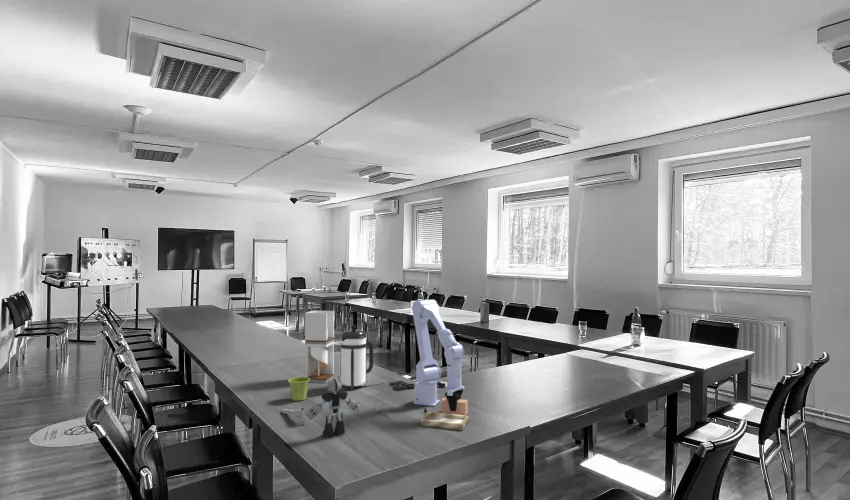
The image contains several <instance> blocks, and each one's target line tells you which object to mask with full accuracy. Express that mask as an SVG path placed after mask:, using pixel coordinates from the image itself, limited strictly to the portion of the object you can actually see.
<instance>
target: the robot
mask: <svg viewBox="0 0 850 500" xmlns="http://www.w3.org/2000/svg"><path fill="white" fill-rule="evenodd" d="M342 387H343V385H342V383H341V382H340V375H337V379H335V378H333V379H331V380H330V381H329V378H328V382H327V385H326V388H327V389H326V390H328V392H326V393H323V394H322V395H321V399H322V400H323V401H322V402H320V403H316V404H314V405H313V406H312V407H311V408H309V410H308V411H307V412H306V413H305V416H306V417H307V418H308V419H309V420H312V419H315V417H317V416H318V415H319V413H321V411H322V409H323V406H324V405H325V404H326V403H328V409H329V411H328V416H327V415H325V425H324V428H323V430H322V435H321V436H322V437H323V438H332V437H334V436H335V435H336V436H342V435H345V434H346V428H345V427H346V426H345V423H344V420H343V419H344V418H343V416H344V414H343V411H342V412H341V409H340V408H341V403H342V401H344V402H345V403H346V405H347V407H348V408H349V409H350V410H351V411H354V412H358V411H359V410H360V409H361V405H360V404H359V403H358V402H357V401H356V399H355V400H354V399H352V398H347V397H348V392H347V391H346V390H341V389H342ZM333 414H335V415H333ZM334 417H335V419H336V422H335V427H334V428H333V424H332V422H333V419H334Z"/></svg>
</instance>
